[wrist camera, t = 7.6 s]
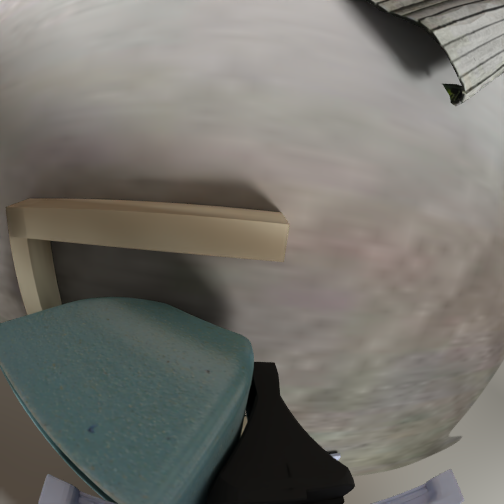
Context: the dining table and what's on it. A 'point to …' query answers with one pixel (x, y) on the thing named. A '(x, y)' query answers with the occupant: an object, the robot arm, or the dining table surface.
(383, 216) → the dining table surface
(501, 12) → the mat
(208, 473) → the flower pot
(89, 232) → the cream wooden frame
